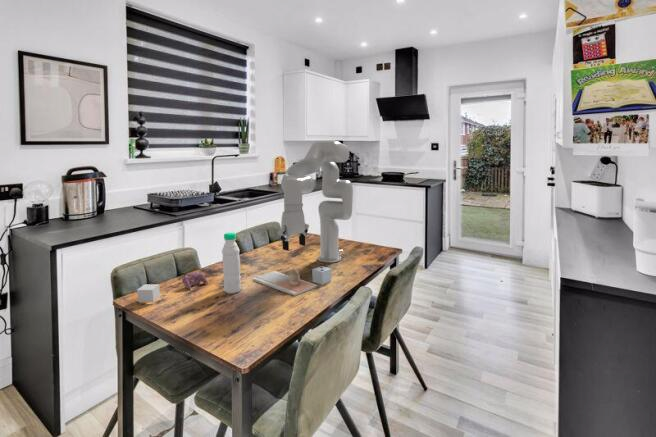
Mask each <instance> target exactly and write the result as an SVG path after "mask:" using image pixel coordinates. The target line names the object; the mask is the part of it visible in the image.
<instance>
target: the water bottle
mask: <svg viewBox="0 0 656 437" xmlns="http://www.w3.org/2000/svg"><path fill="white" fill-rule="evenodd" d="M236 238H237V235H236V233H235V232H226V233H224V235H223V239H224V244H223V247H222V249H221V254H222V270H223V271H222V272H223V283H224V284H223V291H224V292H225V293H226V292H227V294H236V293H239V292H240V291H241V290H242V283H241V280H242V278H241V261H240V260H241V259H240V258H241V257H240V248H239V246H238V244H237V242H236V240H237V239H236Z"/></svg>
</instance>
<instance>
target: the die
mask: <svg viewBox="0 0 656 437" xmlns="http://www.w3.org/2000/svg"><path fill="white" fill-rule="evenodd" d="M311 272H312V276H311V277H312V282H313V283H314V284H318V285H321V286H324V285H326V284H328V283H331V282H332V268H330V267H325V266H323V265H320V266H318V267H315V268H312V271H311Z"/></svg>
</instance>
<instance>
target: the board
mask: <svg viewBox="0 0 656 437" xmlns="http://www.w3.org/2000/svg"><path fill="white" fill-rule="evenodd" d="M252 281H254V282H257V283H259V284H263V285H264V286H267V287H270V288H273V289H276V290H278V291H281V292H284V293H286V294H289V295H290V296H294V297H296V296H298V295H300V294H304V293H305V292H308V291H311V290H313V289H316V288H317V287H318V286H317V283H314V282H313V283H312V282H309V281H306V280H303V279H300V285H299V286H290V280H289V274H284V273H281V272H280V271H277V270H276V271H275V270H273V271H270V272H266V273H263V274H261V275H257V276H255V277H253V278H252Z"/></svg>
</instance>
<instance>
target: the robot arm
mask: <svg viewBox="0 0 656 437" xmlns="http://www.w3.org/2000/svg"><path fill="white" fill-rule="evenodd" d="M349 157H350V150H349V148H348V146H347V145H346V144H344V143H341V142H340V141H336V140H318V141H317V140H316V141H314V142H313V143H312V145H311V146H310V148H309V150H308V152H306V154H305V156H304V158H302V159H301V160H299V161H297V162H296V163H294V164H292V165H291V166H289V167H288V169H286V171H285V173H284V174H283V175H282V179H281V181H280V186H281V190H282V191H283V210H284V211H282V214H281V215H282V216H281V222H280V225H281V226H280V229H279V230H278V231H277V232H276V234H277V235H278V238H279V239H280V240H281V241H282V250H283V251H289V250H290V242H289V241H288V240H289V238H290V237H292V236H296V235H298V244H299V245H300V246H302V247H303V246H304V247H305V246H306V237H307V233H308V231H309V228H310V224H308V223H306V221H305V213H304V210H303V207H304V204H303V194H305V195H306V194H307V195H308V194H310V193H312V192H313V190H314V189H315V180H314V178H312V177H311V176H309V175H313V174H314V173H317V172H319V171H320V169H321V170H322V182H321V183H322V184H321V192H322V195H323V197H325V198H328V200H323V201H321V202H320V203H319V204H318V214H319V220H320V221H319V224H320V227H319V228H320V230H319V231H320V233H319V234H320V255H318V256H317V261H319V262H322V263H328V264H329V263H331V264H332V263H337V262H340V261H341V260H342V256H341V254H342V253H344V249H342V248H341V249H339V230H340V228H339V225H338V222H337V221H336V220H339V221H348V220H350V219H351V218H352V215H353V202H354V198H353V196H354V188H353V184H352V182H351V181H350V180H348V179H347V180H346V179H340V169H339V167H338V165H337V163H346V162H347V161H348V160H349ZM329 198H330V199H341V200H342V201H341V200H329Z"/></svg>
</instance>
